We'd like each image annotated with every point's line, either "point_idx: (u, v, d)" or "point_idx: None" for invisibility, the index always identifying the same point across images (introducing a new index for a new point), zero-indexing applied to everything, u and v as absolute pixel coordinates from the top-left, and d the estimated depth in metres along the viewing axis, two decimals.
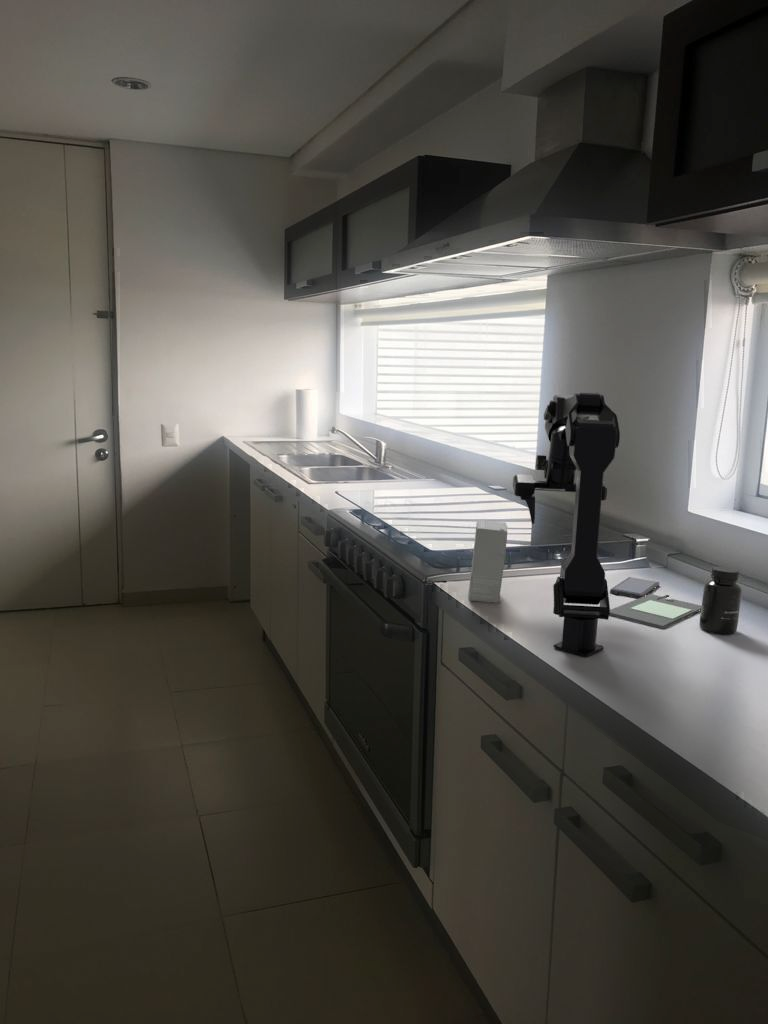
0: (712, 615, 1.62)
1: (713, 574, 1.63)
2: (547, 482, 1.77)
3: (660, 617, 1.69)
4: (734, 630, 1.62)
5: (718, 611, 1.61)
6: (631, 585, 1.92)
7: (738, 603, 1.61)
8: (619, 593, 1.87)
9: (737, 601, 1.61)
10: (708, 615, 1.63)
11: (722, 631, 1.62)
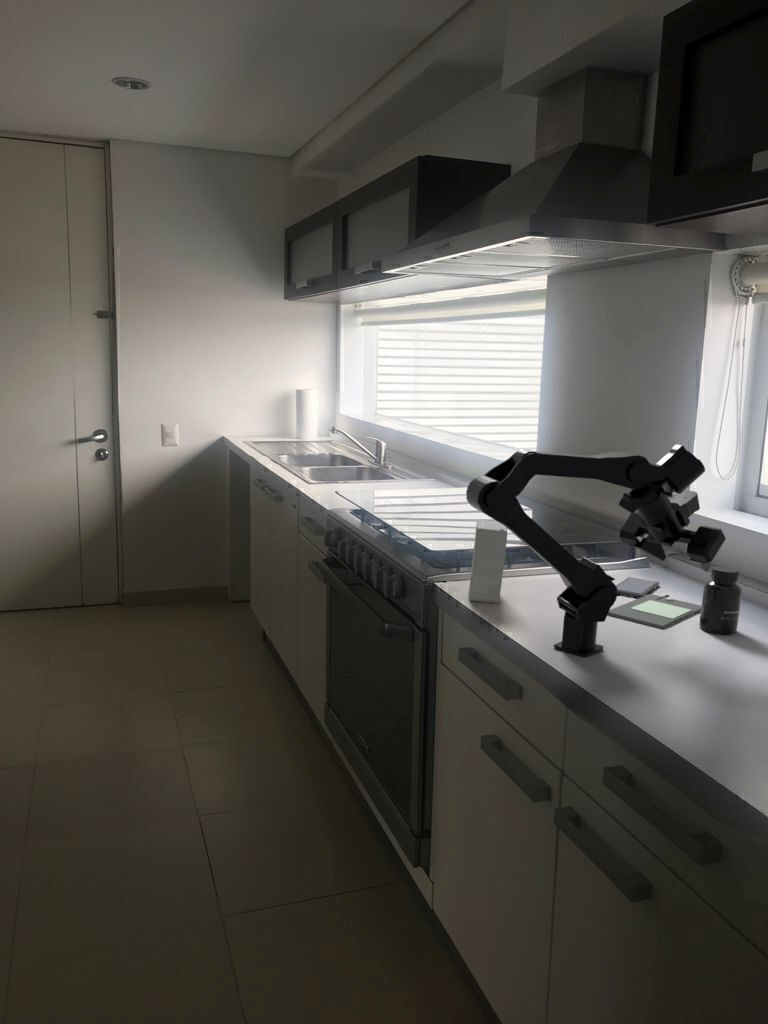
0: (712, 615, 1.62)
1: (713, 574, 1.63)
2: None
3: (660, 617, 1.69)
4: (734, 630, 1.62)
5: (718, 611, 1.61)
6: (631, 585, 1.92)
7: (738, 603, 1.61)
8: (619, 593, 1.87)
9: (737, 601, 1.61)
10: (708, 615, 1.63)
11: (722, 631, 1.62)
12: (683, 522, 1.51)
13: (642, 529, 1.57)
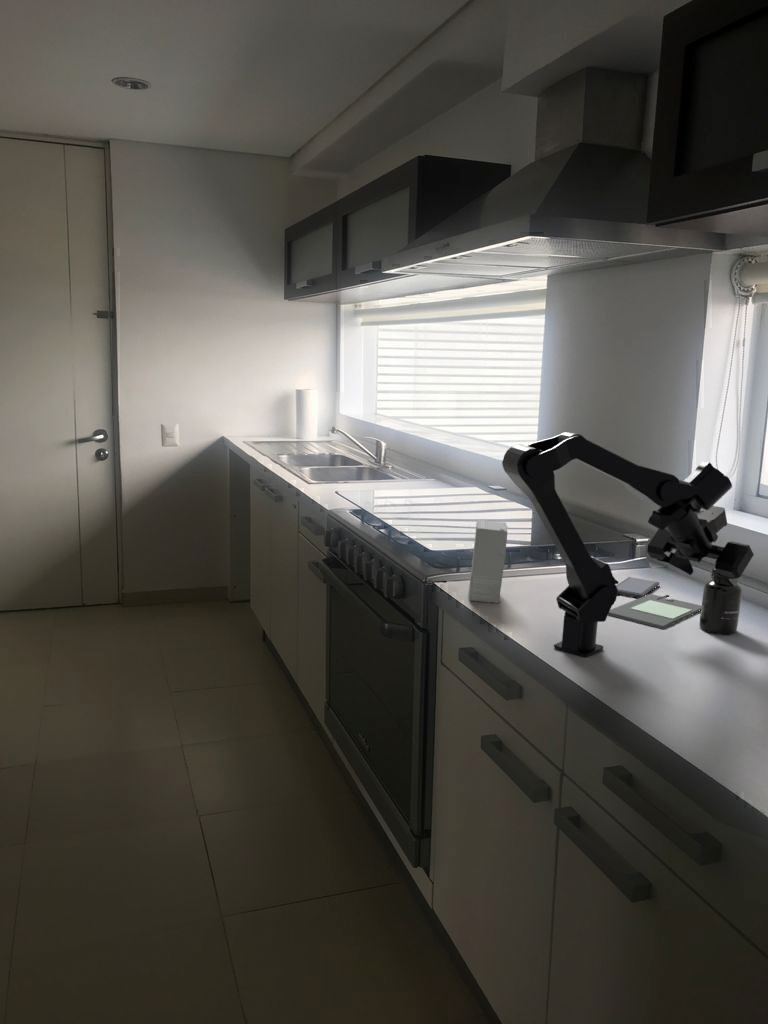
0: (712, 615, 1.62)
1: (713, 574, 1.63)
2: None
3: (660, 617, 1.69)
4: (734, 630, 1.62)
5: (718, 611, 1.61)
6: (631, 585, 1.92)
7: (738, 603, 1.61)
8: (619, 593, 1.87)
9: (737, 601, 1.61)
10: (708, 615, 1.63)
11: (722, 631, 1.62)
12: (711, 538, 1.53)
13: (670, 544, 1.60)
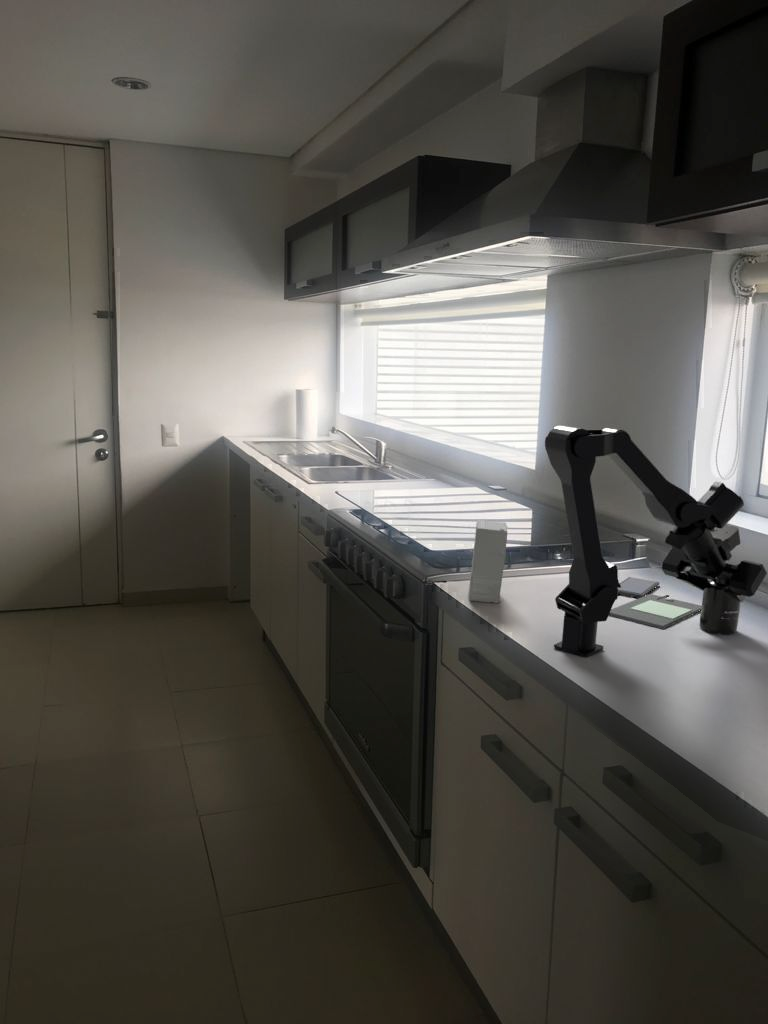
0: (712, 615, 1.62)
1: None
2: None
3: (660, 617, 1.69)
4: (734, 630, 1.62)
5: (718, 610, 1.61)
6: (631, 585, 1.92)
7: (738, 603, 1.61)
8: (619, 593, 1.87)
9: (737, 601, 1.61)
10: (708, 615, 1.63)
11: (722, 631, 1.62)
12: (725, 556, 1.57)
13: (684, 562, 1.63)
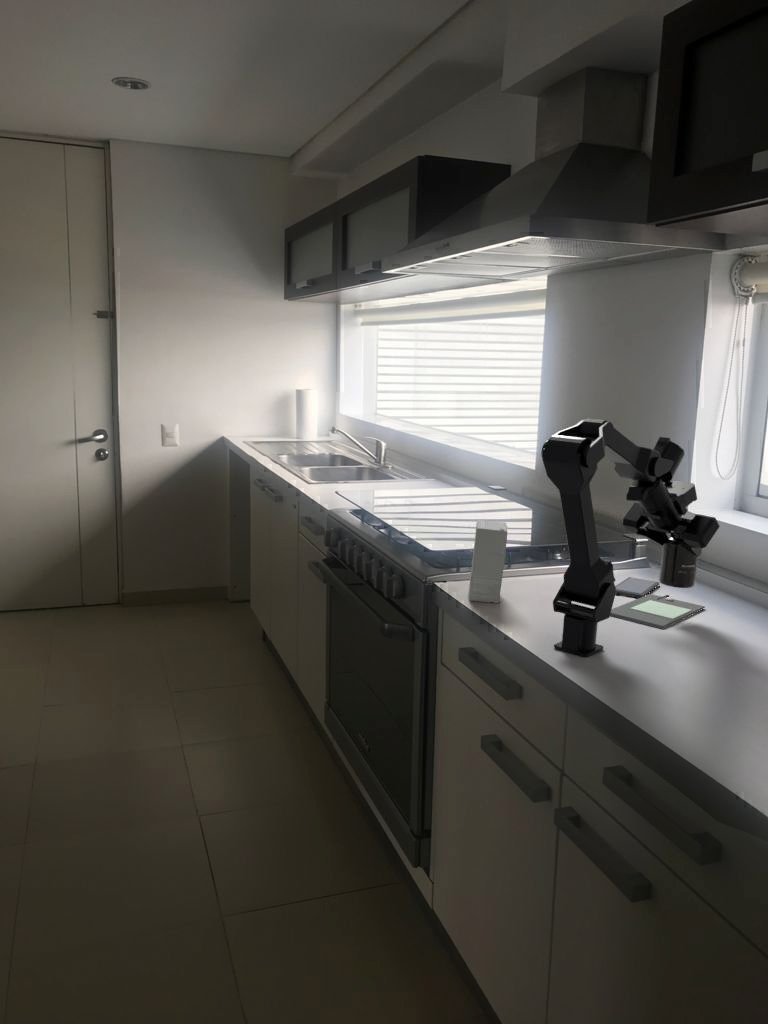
0: (670, 569, 1.68)
1: None
2: None
3: (660, 617, 1.69)
4: (691, 584, 1.68)
5: (675, 564, 1.67)
6: (631, 585, 1.92)
7: (695, 557, 1.68)
8: (619, 593, 1.87)
9: (694, 555, 1.67)
10: (666, 569, 1.69)
11: (679, 584, 1.68)
12: (681, 511, 1.64)
13: (643, 518, 1.70)
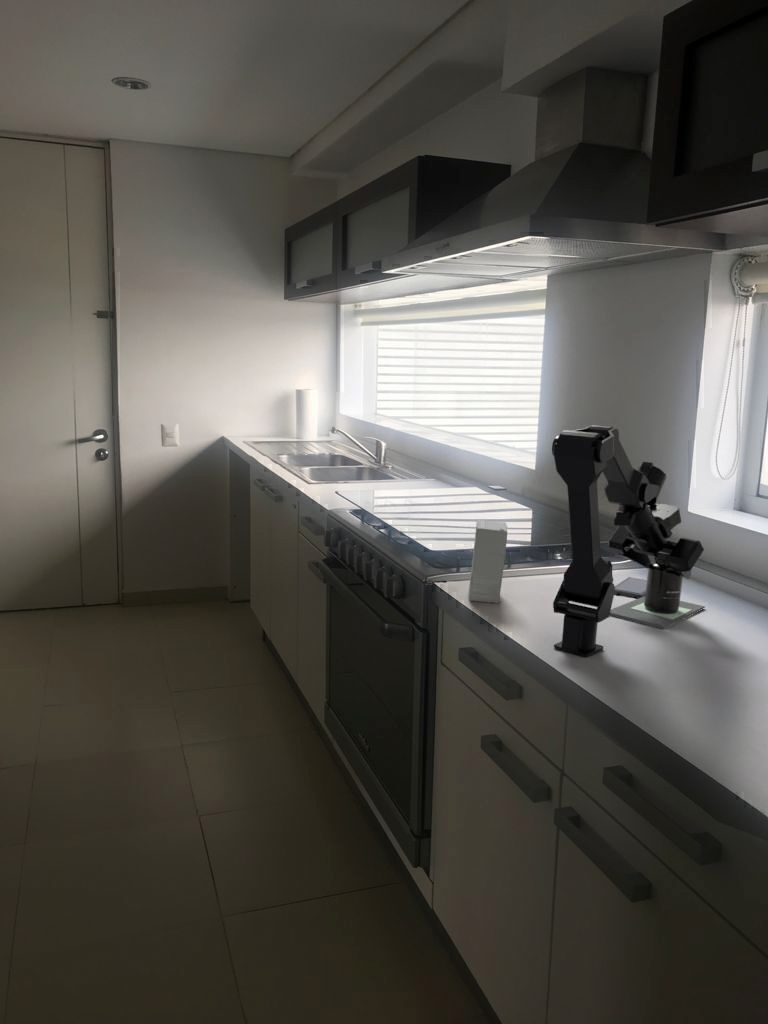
0: (655, 595, 1.71)
1: (656, 556, 1.72)
2: None
3: (660, 617, 1.69)
4: (676, 609, 1.71)
5: (660, 590, 1.70)
6: (631, 585, 1.92)
7: (679, 583, 1.71)
8: (619, 593, 1.87)
9: (678, 582, 1.70)
10: (651, 595, 1.72)
11: (664, 610, 1.71)
12: (666, 534, 1.67)
13: (629, 540, 1.73)
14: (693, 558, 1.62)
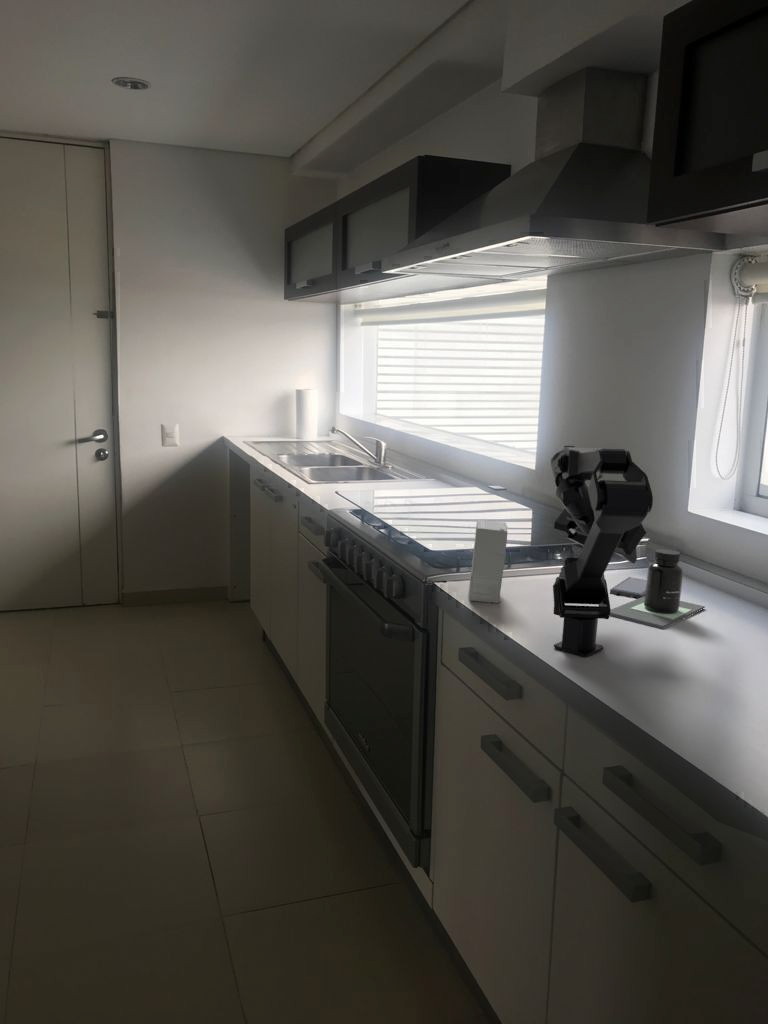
0: (654, 595, 1.71)
1: (656, 556, 1.72)
2: None
3: (660, 617, 1.69)
4: (676, 609, 1.71)
5: (660, 591, 1.70)
6: (631, 585, 1.92)
7: (679, 583, 1.71)
8: (619, 593, 1.87)
9: (678, 582, 1.70)
10: (651, 595, 1.72)
11: (664, 610, 1.71)
12: None
13: (574, 522, 1.66)
14: (633, 541, 1.55)
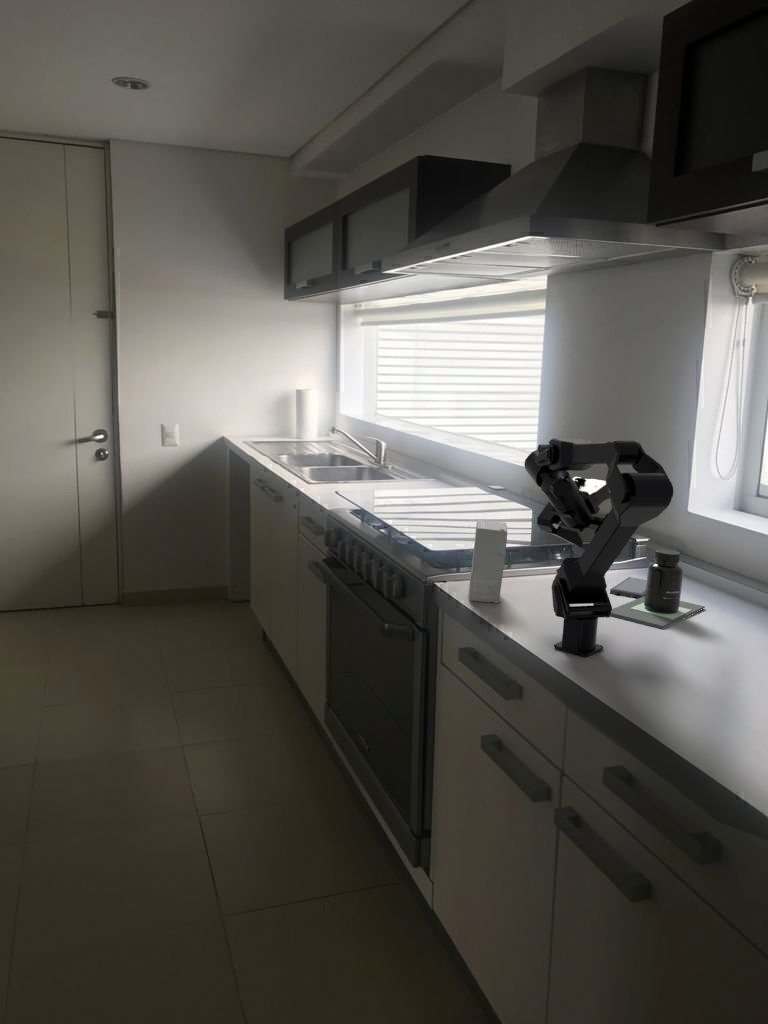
0: (654, 595, 1.71)
1: (656, 556, 1.72)
2: None
3: (660, 617, 1.69)
4: (676, 609, 1.71)
5: (660, 591, 1.70)
6: (631, 585, 1.92)
7: (679, 583, 1.71)
8: (619, 593, 1.87)
9: (678, 582, 1.70)
10: (651, 595, 1.72)
11: (664, 610, 1.71)
12: (593, 509, 1.60)
13: (557, 516, 1.66)
14: None
